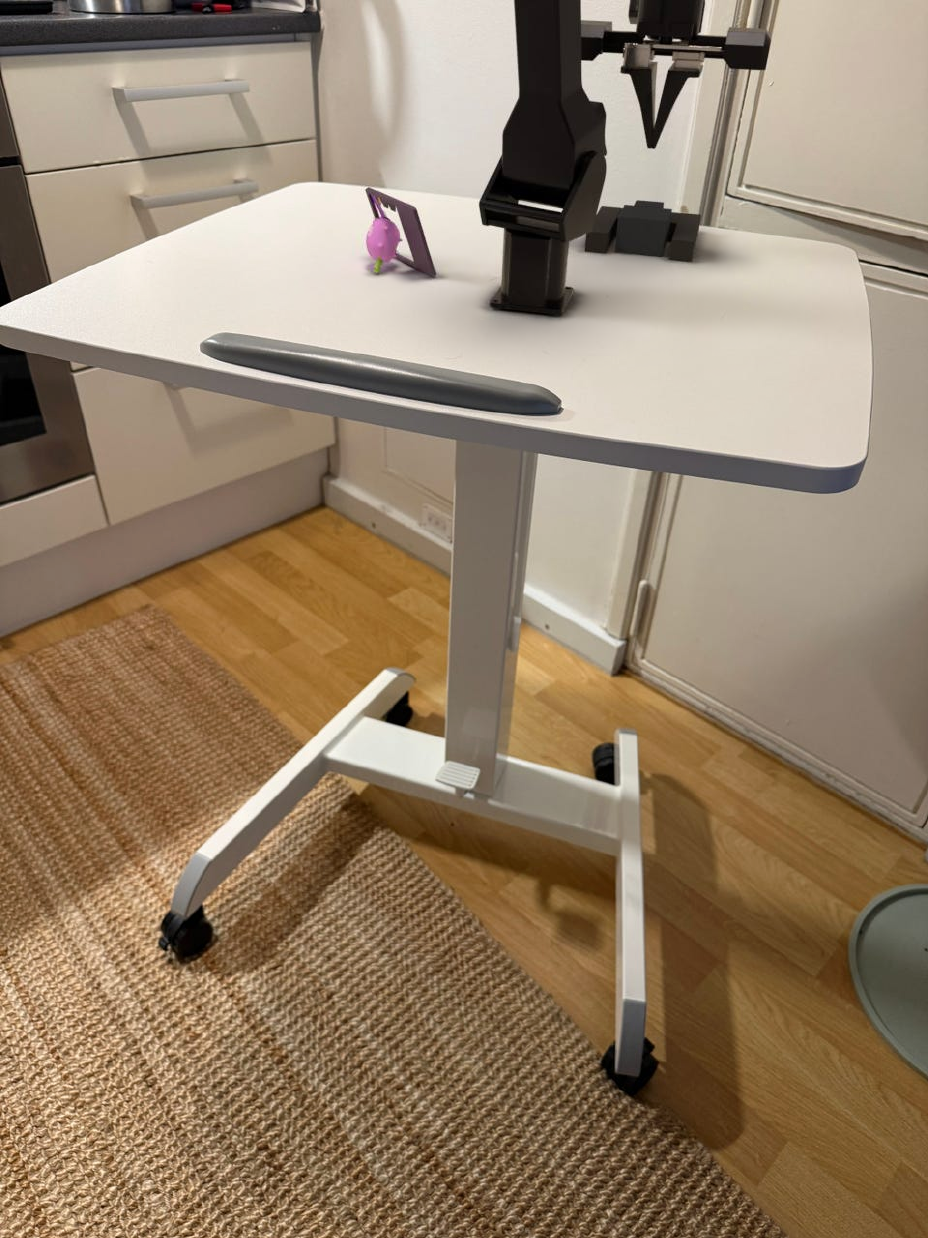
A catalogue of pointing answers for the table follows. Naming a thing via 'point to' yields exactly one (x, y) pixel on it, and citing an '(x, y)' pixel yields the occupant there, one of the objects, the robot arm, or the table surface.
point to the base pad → (679, 235)
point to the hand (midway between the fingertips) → (651, 147)
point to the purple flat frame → (396, 234)
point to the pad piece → (643, 228)
